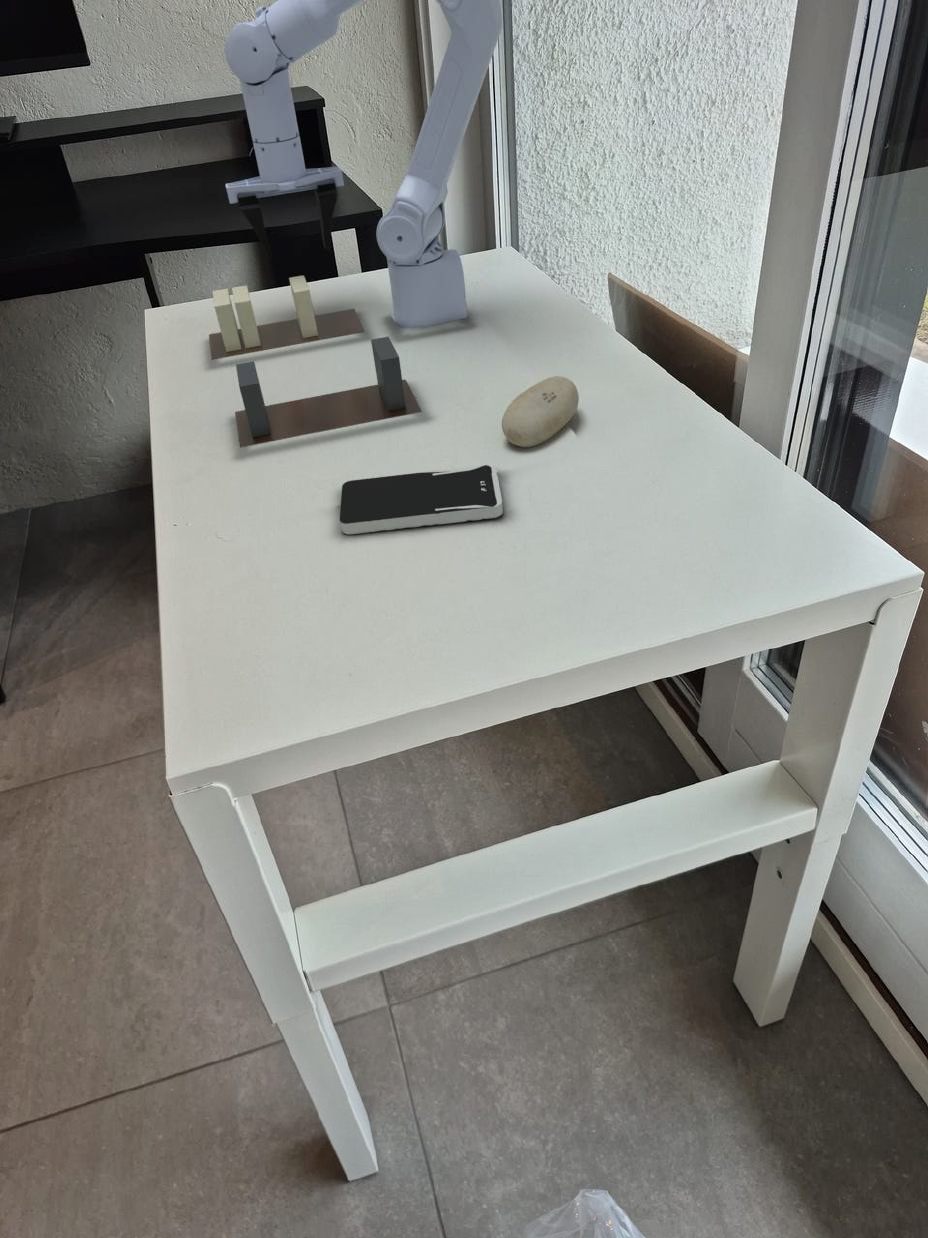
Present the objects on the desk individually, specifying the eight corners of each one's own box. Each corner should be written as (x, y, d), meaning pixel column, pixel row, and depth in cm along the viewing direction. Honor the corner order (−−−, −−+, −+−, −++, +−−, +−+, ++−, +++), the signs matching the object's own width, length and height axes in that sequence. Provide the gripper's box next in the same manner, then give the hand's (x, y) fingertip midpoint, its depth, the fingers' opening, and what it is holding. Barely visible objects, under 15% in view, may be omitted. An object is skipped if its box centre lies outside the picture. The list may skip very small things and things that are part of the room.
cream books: (257, 329, 121) (247, 284, 118) (261, 345, 117) (250, 299, 113) (224, 335, 121) (212, 290, 117) (226, 352, 116) (214, 306, 112)
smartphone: (342, 481, 88) (495, 463, 88) (345, 493, 89) (496, 475, 89) (339, 524, 82) (502, 505, 82) (341, 536, 83) (503, 518, 83)
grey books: (395, 386, 104) (388, 335, 100) (406, 408, 100) (399, 356, 96) (248, 414, 102) (235, 364, 98) (252, 438, 97) (239, 386, 93)
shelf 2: (406, 386, 106) (405, 378, 105) (423, 419, 99) (422, 411, 99) (236, 419, 103) (234, 411, 103) (241, 455, 96) (239, 447, 96)
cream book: (312, 319, 123) (303, 274, 119) (318, 335, 118) (309, 289, 114) (298, 322, 122) (288, 277, 118) (303, 338, 118) (293, 292, 114)
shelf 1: (355, 315, 125) (354, 308, 125) (366, 338, 118) (365, 331, 118) (210, 341, 122) (208, 334, 122) (213, 366, 115) (211, 359, 115)
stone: (594, 385, 96) (562, 404, 86) (571, 438, 99) (537, 462, 89) (546, 362, 97) (509, 378, 87) (525, 415, 100) (486, 437, 90)
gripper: (217, 153, 106) (245, 270, 115) (339, 134, 108) (357, 251, 117) (215, 141, 111) (241, 254, 120) (331, 124, 113) (348, 236, 122)
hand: (298, 251), depth 119 cm, fingers open, 7 cm apart
